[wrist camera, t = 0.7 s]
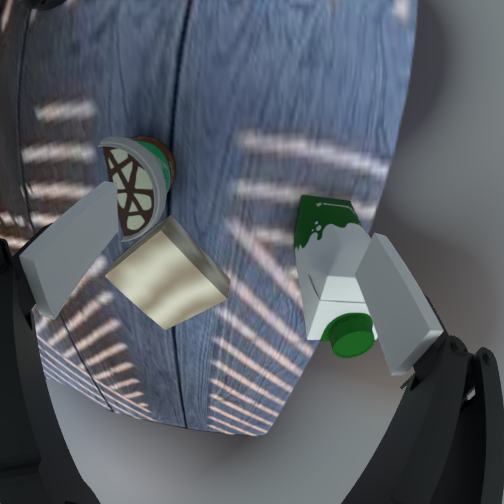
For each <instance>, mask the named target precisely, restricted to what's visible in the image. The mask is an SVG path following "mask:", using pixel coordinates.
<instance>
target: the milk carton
mask: <svg viewBox="0 0 504 504" xmlns="http://www.w3.org/2000/svg"><path fill="white" fill-rule="evenodd" d="M370 241H371V238H370V237H369V235H368V234H367V232H366V230H365V229H364V227H363V226H362V224H361V223H360V221H359V219H358V217H357V215H356V213H355V211H354V208H353V206H352V204H351V202H350V201H345V200H337V199H330V198H322V197H314V196H306V195H302V197H301V203H300V209H299V215H298V221H297V226H296V232H295V237H294V254H295V260H296V266H297V272H298V278H299V284H300V290H301V296H302V303H303V310H304V318H305V325H306V333H307V339H308V340H320V341H330V342H331V345H332V349H333V353H334V354H335V355H337V356H338V357H342V358H352V357H356V356H359V355H361V354H363V353H365V352H367V351H368V350H369V349H370V348H371V347H372V346H373V344H374V341H375V339H377V337H378V335H377V333H376V330H375V327H374V324H373V321H372V319H371V316H370V313H369V311H368V308H367V305H366V303H365V300H364V298H363V295H362V292H361V290H360V287H359V285H358V282H357V280H356V278H355V275H354V274H355V272H356V270H357V268H358V266H359V264H360V262H361V260H362V258H363V256H364V254H365V252H366V250H367V248H368V245H369V243H370Z"/></svg>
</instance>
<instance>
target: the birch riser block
mask: <svg viewBox="0 0 504 504" xmlns="http://www.w3.org/2000/svg"><path fill="white" fill-rule="evenodd" d="M105 277H106V278H107V279H108V280H109V281H111V282H112V283H113V284H114V285H115V286H116V287H117V288H118V289H119V290H120V291H121V292H122V293H123V294H124V295H125V296H126V297H128V298H129V299H130V300H131V301H132V302H133V303H134V304H135V305H136V306H138V307H139V308H140V309H141V310H142V311H143V312H144V313H146V314H147V315H148V316H149V317H150V318H151V319H152V320H154V321H155V322H156V323H157V324H158V325H160V326H161V327H162V328H163V329H164V330H166V329H168V328H170V327H172V326H174V325H176V324H179V323H181V322H183V321H185V320H187V319H189V318H191V317H193V316H195V315H197V314H199V313H201V312H203V311H205V310H207V309H209V308H211V307H213V306H215V305H217V304H219V303H221V302H223V301H225V300H227V299H228V292H229V285H230V279H229V278H228V276H227V275H226V274H225V273H224V272H223V271H222V270H221V269H220V268H219V267H218V266H217V265H216V264H215V263H214V261H213V260H212V259H211V258H210V257H209V256H208V255H207V254H206V253H205V252H204V251H203V250H202V248H201V247H200V246H199V245H198V244H197V243H196V242H195V241H194V240H193V239H192V237H191V236H190V235H189V234H188V233H187V232H186V231H185V230H184V229H183V228H182V226H181V225H180V224H179V223H178V222H177V221H176V220H175V219H174V217H173V216H172V215H170V216H168V217H167V218H166V219H164V220H163V221H162V222H161V223H159V224H158V225H157V226H156V227H154V228H153V229H152V230H151V231H149V232H148V233H147V234H146V235H144V236H143V237H142V238H141V239H140V240H138V241H137V242H136V243H135V244H134V245H132V246H131V247H130V248H129V249H128V250H127V251H125V252H124V253H123V254H122V255H121V256H120V257H118V258H117V259H116V260H115V262H114V263H113V265H112V266H111V268H110V269H109V271H108V272H107V274H106V275H105Z"/></svg>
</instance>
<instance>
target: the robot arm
mask: <svg viewBox="0 0 504 504" xmlns="http://www.w3.org/2000/svg"><path fill="white" fill-rule="evenodd" d="M19 1H21V2H22V3H23V4H25V5H26V6H27V7H29V8H32V9H38V10H47V9H51V8H53V7H56V6H58V5H59V4H61V3H63V2H64V1H66V0H19ZM117 232H118V211H117V183H114V182H107V181H104V182H103V183H101V184H100V185H99V186H97V187H96V188H95V189H93V190H92V191H91V192H89V193H88V194H87V195H86V196H84V197H83V198H82V199H81V200H79V201H78V202H77V203H76V204H75V205H73V206H72V207H71V208H70V209H69V210H67V211H66V212H65V213H64V214H63V215H62V216H60V217H59V218H58V219H57V220H56V221H55V222H54V223H51V224H49V225H47V226H45V227H43V228H42V229H41V230H39V231H38V232H37V233H36V234H35V236H33V237H32V238H31V239H30V241H28V242H27V243H26V244H25V245H24V246H23V247H22V248H21V249H20V250H19V251H18V252H17V253H16V254H15V255H14V256H13V257H12V256H11V253H10V250H9V246H8V243H7V241H6V240H5V239H2V238H0V503H1V504H100V502H99V500H98V499H97V497H96V495H95V494H94V492H93V491H92V490H91V488H90V487H89V486H88V485H87V484H86V483H85V482H84V480H83V479H82V477H81V476H80V474H79V472H78V469H77V467H76V465H75V463H74V461H73V459H72V456H71V454H70V452H69V449H68V447H67V445H66V442H65V440H64V437H63V434H62V432H61V429H60V426H59V424H58V421H57V418H56V415H55V412H54V409H53V406H52V402H51V399H50V395H49V392H48V388H47V384H46V380H45V376H44V372H43V368H42V363H41V358H40V353H39V348H38V342H37V336H36V329H35V322H34V315H33V313H32V310H31V309H32V308H33V306H34V305H35V304H36V305H37V308H38V310H39V313H40V314H41V315H43V316H46V317H48V318H51V319H53V320H55V318H56V316H57V315H58V313H59V312H60V310H61V309H62V307H63V305H64V304H65V302H66V301H67V299H68V298H69V296H70V295H71V293H72V292H73V291H74V289H75V288H76V286H77V285H78V283H79V282H80V280H81V279H82V278H83V276H84V275H85V273H86V272H87V271H88V269H89V268H90V267H91V265H92V264H93V263H94V261H95V260H96V259H97V257H98V256H99V255H100V253H101V252H102V251H103V249H104V248H105V247H106V246H107V244H108V243H109V242H110V241H111V239H112V238H113V237H114V236H115V234H116V233H117ZM354 275H355V278H356V280H357V282H358V285H359V287H360V290H361V292H362V295H363V298H364V300H365V303H366V305H367V308H368V311H369V313H370V316H371V319H372V321H373V324H374V327H375V330H376V333H377V335H378V338H379V341H380V344H381V347H382V350H383V353H384V356H385V359H386V362H387V365H388V368H389V372H390V375H405V374H406V373H407V372H408V371H409V370H410V369H411V367H412V366H413V367H414V370H415V373H414V374H413V375H412V376H411V377H410V378H409V379H408V380H407V381H406V382H405V383H404V384H403V385H402V386H401V387H400V388H401V389H403V388H404V387H405V386H407V387H406V390H405V392H404V394H403V397H402V399H401V401H400V404H399V406H398V408H397V410H396V412H395V415H394V417H393V419H392V421H391V423H390V425H389V427H388V429H387V431H386V433H385V435H384V437H383V438H382V440H381V442H380V444H379V446H378V448H377V449H376V451H375V453H374V455H373V456H372V458H371V460H370V461H369V463H368V465H367V466H366V468H365V470H364V471H363V473H362V474H361V476H360V478H359V479H358V480H357V482H356V483H355V485H354V486H353V488H352V489H351V491H350V492H349V493H348V495H347V496H346V498H345V499H344V500H343V502H342V503H341V504H502V496H503V489H504V406H503V397H502V390H501V383H500V377H499V371H498V366H497V362H496V359H495V357H494V354H493V353H492V352H491V351H490V350H488V349H487V348H485V347H482V348H480V349H479V350H478V351H477V352H476V353H475V354H472V353H469V352H468V350H467V348H466V346H465V345H464V343H463V342H462V341H461V340H460V339H459V338H457V337H455V336H451V335H450V336H449V335H448V333H447V331H446V329H445V327H444V325H443V323H442V322H441V320H440V318H439V316H438V314H436V311H435V309H434V308H433V305H432V304H431V302H430V300H429V298H428V297H427V296H426V295H425V294H424V293H423V292H422V291H421V289H420V288H419V286H418V284H417V283H416V281H415V279H414V278H413V276H412V274H411V273H410V271H409V270H408V268H407V267H406V265H405V263H404V262H403V260H402V259H401V257H400V256H399V254H398V253H397V252H396V250H395V249H394V247H393V245H392V244H391V243H390V241H389V240H388V238H387V237H386V236H384V235H380V234H376V233H374V235H373V237H372V239H371V241H370V243H369V245H368V248H367V250H366V252H365V254H364V256H363V258H362V260H361V262H360V264H359V266H358V268H357V270H356V272H355V274H354ZM474 389H475V395H474V396H473V397H472V398H471V399H470V400H468V399H467V395H469V394H470V393H471V392H472V391H473V390H474Z"/></svg>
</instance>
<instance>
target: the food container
mask: <svg viewBox="0 0 504 504" xmlns="http://www.w3.org/2000/svg"><path fill="white" fill-rule="evenodd" d="M101 146H103V152H104V155H105V159H106V164H107V170H108V176H109V182H114V183H117V211H118V215H119V219H120V222H121V226H122V229H123V233H124V237H123V239H122V240H121V242H125V241H129V240H132V239H135V238H137V237H139V236H141V235H143V234H144V233H145V232H147V231H148V230H149V229H151V228H152V227H153V226H154V225H155V224H156V223H157V222H158V220H159V219H160V217H161V215H162V213H163V210H164V208H165V203H166V195H167V193H168V191H169V190H170V188H171V186H172V184H173V182H174V179H175V176H176V162H175V159H174V156H173V154H172V152H171V151H170V149H169V148H168V147H167V146H166V145H165V144H164V143H163V142H161V141H160V140H158V139H156V138H154V137H150V136H136V137H131V138H124V137H117V136H111V137H106V138H104V139H103V140H102V141H101V142H100V145H98V146H97V147H101Z"/></svg>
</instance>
